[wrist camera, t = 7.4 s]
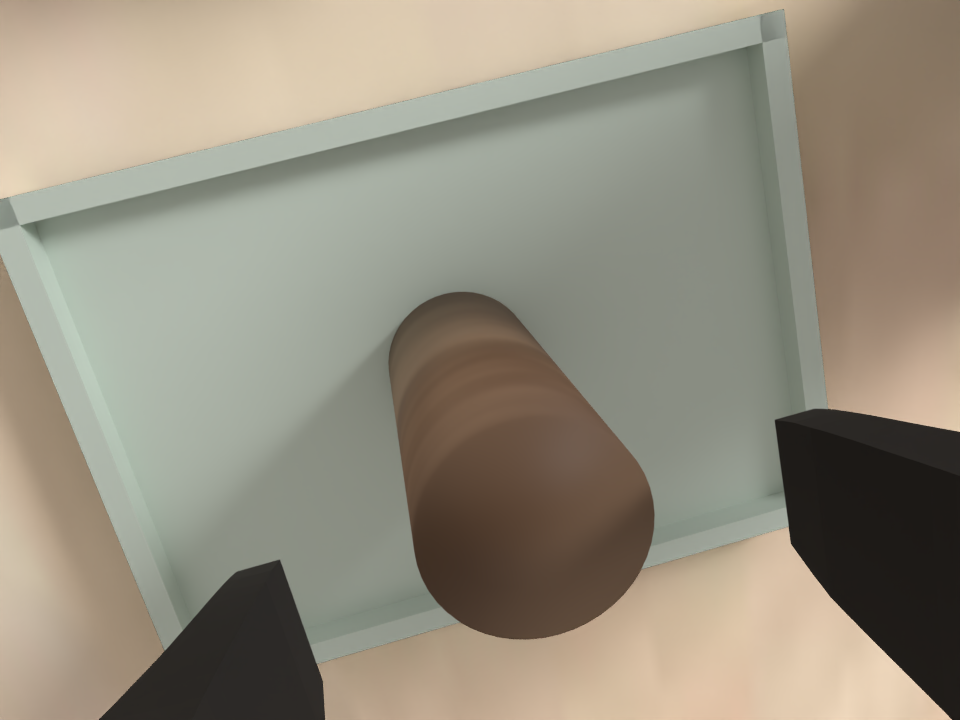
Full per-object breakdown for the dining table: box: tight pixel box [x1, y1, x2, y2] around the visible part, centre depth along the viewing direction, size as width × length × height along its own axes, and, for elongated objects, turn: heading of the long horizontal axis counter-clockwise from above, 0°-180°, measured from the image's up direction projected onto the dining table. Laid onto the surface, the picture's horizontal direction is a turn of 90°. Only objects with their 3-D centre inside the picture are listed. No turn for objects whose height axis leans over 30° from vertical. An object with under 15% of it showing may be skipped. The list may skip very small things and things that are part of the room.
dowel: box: [388, 292, 655, 639], centre depth 16 cm, size 4×4×9 cm
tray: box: [0, 9, 828, 664], centre depth 21 cm, size 18×13×2 cm
